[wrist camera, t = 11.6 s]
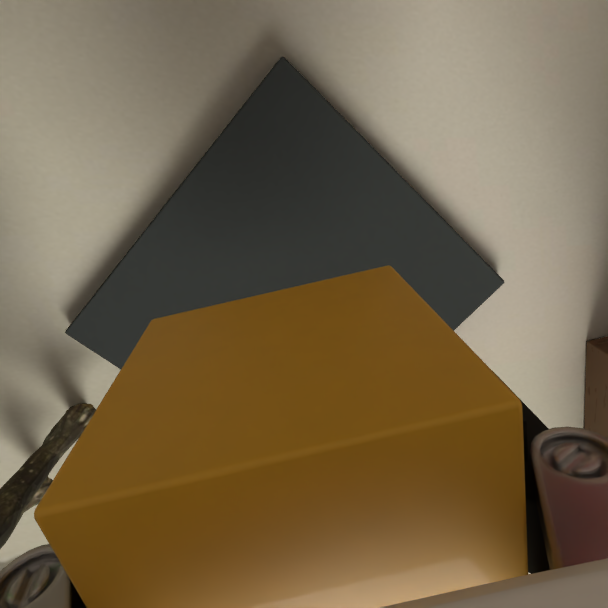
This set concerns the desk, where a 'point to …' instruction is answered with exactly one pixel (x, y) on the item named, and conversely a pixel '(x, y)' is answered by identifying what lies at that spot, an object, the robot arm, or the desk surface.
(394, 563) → the top block
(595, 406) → the bottom block
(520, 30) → the desk surface
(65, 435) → the statue
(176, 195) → the felt mat
